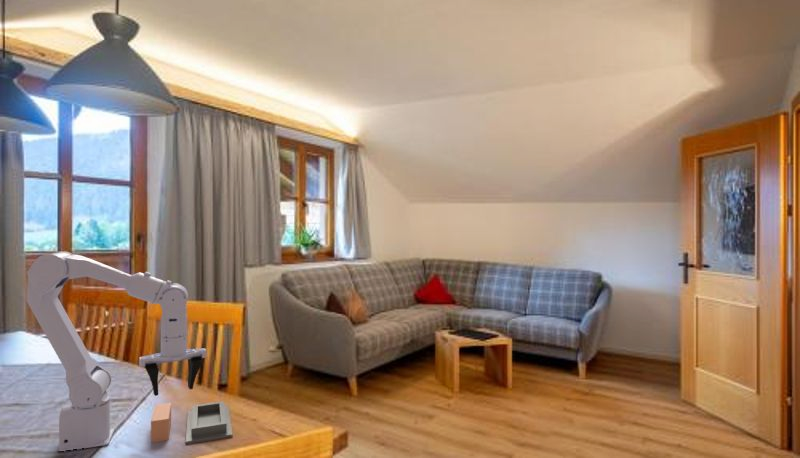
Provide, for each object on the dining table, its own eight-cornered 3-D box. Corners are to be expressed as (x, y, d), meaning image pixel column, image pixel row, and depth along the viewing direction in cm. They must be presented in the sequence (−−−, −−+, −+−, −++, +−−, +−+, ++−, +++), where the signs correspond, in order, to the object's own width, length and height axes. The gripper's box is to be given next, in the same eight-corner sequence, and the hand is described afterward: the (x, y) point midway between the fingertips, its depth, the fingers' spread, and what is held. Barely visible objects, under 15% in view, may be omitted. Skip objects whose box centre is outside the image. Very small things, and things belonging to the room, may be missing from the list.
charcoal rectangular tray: (185, 444, 107) (185, 433, 107) (187, 413, 123) (187, 403, 123) (232, 436, 111) (232, 425, 111) (228, 407, 127) (228, 398, 127)
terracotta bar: (151, 442, 108) (151, 421, 108) (155, 424, 117) (155, 404, 117) (168, 440, 109) (168, 418, 109) (171, 422, 118) (171, 402, 118)
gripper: (142, 343, 106) (141, 403, 106) (209, 334, 115) (209, 390, 115) (138, 336, 112) (137, 393, 112) (202, 328, 120) (202, 381, 121)
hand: (173, 391), depth 114 cm, fingers open, 7 cm apart
